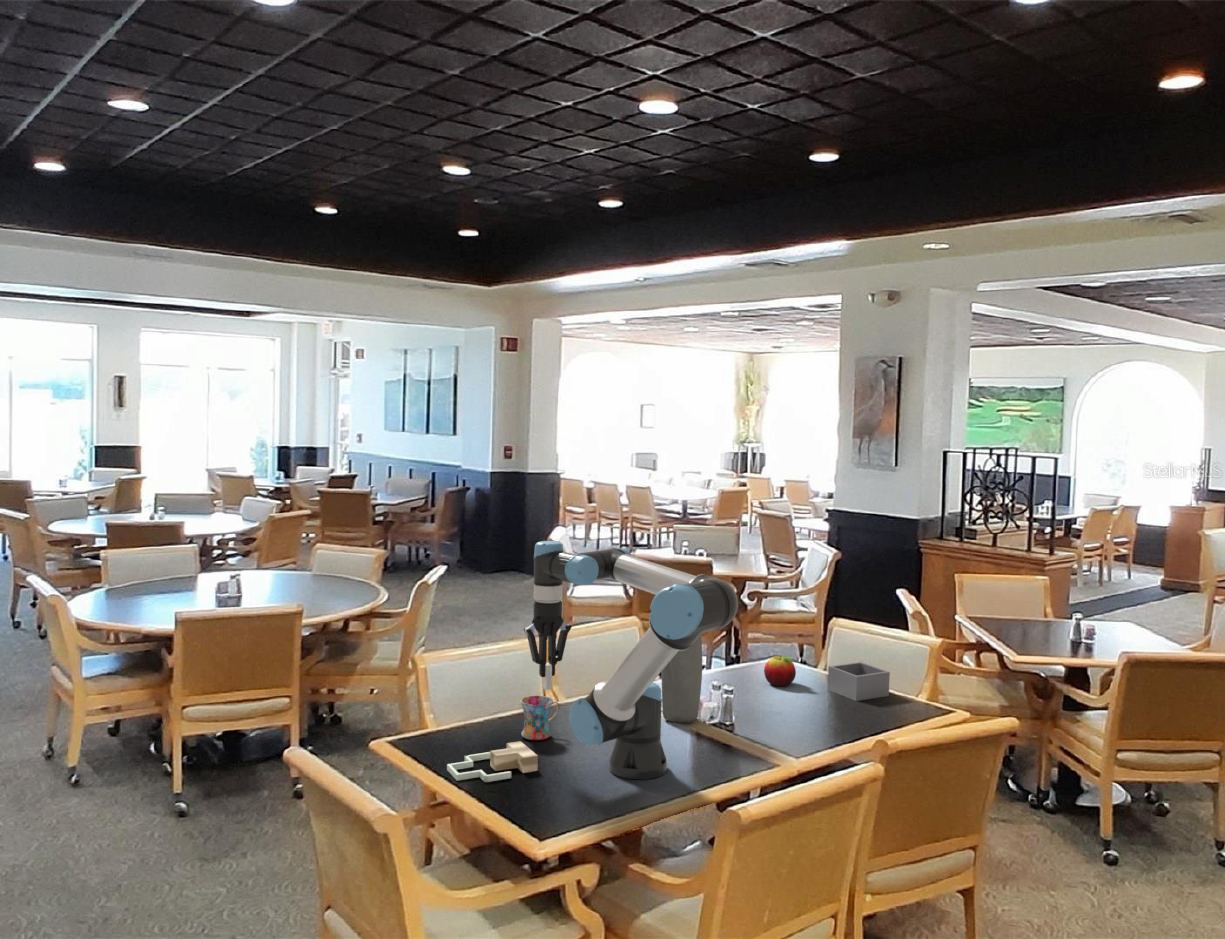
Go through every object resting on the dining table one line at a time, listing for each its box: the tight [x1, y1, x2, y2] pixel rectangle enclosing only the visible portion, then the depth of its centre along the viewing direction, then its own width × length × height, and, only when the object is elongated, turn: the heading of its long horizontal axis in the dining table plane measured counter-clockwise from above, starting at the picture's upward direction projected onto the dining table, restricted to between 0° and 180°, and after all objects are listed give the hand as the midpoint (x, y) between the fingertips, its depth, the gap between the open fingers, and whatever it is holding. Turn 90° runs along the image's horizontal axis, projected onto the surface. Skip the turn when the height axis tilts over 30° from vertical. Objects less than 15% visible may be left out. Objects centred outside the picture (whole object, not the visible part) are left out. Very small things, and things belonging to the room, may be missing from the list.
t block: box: [489, 740, 539, 774], centre depth 257 cm, size 12×10×4 cm
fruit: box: [763, 654, 797, 687], centre depth 336 cm, size 11×11×10 cm
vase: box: [660, 634, 703, 724], centre depth 296 cm, size 12×12×30 cm
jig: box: [446, 751, 512, 783], centre depth 253 cm, size 16×13×2 cm
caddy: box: [827, 661, 891, 702], centre depth 328 cm, size 14×14×8 cm
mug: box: [519, 695, 561, 741], centre depth 280 cm, size 12×9×11 cm
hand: (546, 688), depth 260 cm, fingers closed
